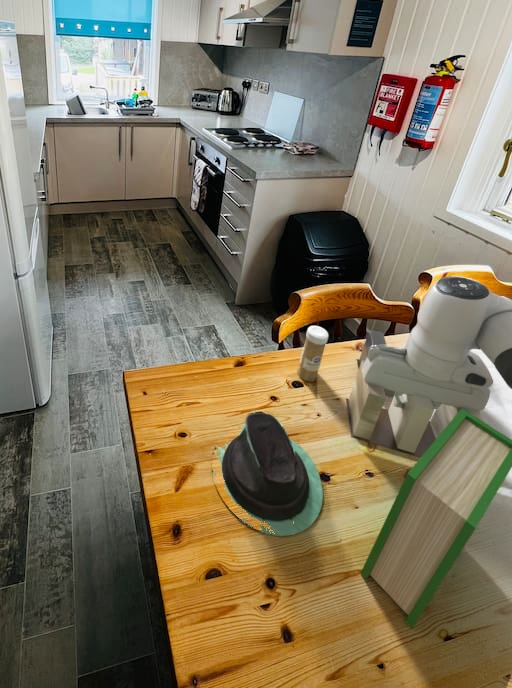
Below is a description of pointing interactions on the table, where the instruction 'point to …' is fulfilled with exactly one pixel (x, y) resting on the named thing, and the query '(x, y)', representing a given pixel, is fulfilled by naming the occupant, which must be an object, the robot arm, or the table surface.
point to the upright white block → (410, 421)
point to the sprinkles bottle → (312, 353)
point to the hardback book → (438, 511)
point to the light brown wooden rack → (375, 421)
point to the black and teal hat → (271, 476)
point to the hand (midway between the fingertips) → (410, 408)
